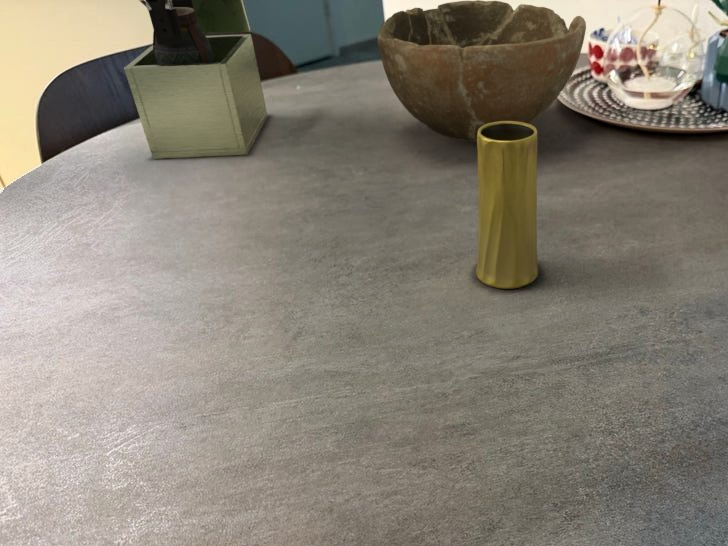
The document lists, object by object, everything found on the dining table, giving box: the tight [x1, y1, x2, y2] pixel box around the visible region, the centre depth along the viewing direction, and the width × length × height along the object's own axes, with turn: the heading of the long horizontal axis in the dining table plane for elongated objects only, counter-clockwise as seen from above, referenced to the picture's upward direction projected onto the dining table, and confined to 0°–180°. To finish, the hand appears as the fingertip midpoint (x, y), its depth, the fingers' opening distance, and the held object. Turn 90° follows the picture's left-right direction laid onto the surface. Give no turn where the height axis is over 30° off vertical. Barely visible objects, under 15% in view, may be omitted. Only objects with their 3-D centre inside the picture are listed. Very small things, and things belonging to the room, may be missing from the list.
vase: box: [475, 121, 539, 290], centre depth 65 cm, size 6×6×14 cm
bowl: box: [376, 0, 587, 142], centre depth 96 cm, size 28×27×15 cm
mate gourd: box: [138, 0, 213, 65], centre depth 91 cm, size 7×8×10 cm
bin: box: [123, 33, 269, 160], centre depth 98 cm, size 16×13×12 cm
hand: (178, 36), depth 91 cm, fingers closed on mate gourd, 6 cm apart
